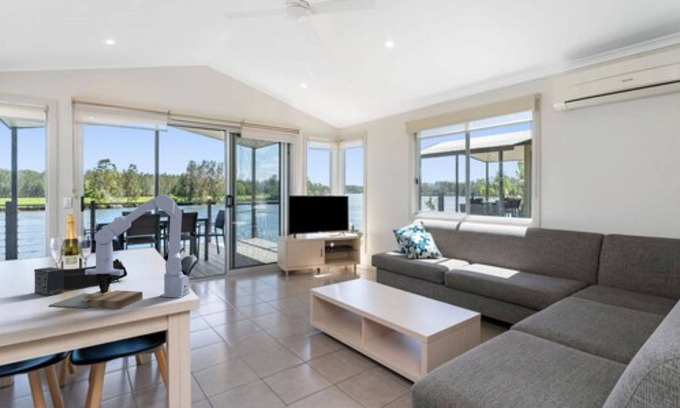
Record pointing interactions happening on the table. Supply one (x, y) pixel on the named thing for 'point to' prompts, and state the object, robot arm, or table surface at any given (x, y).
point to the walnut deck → (116, 299)
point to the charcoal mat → (73, 302)
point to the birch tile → (95, 295)
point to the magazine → (86, 277)
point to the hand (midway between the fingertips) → (104, 292)
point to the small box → (48, 281)
